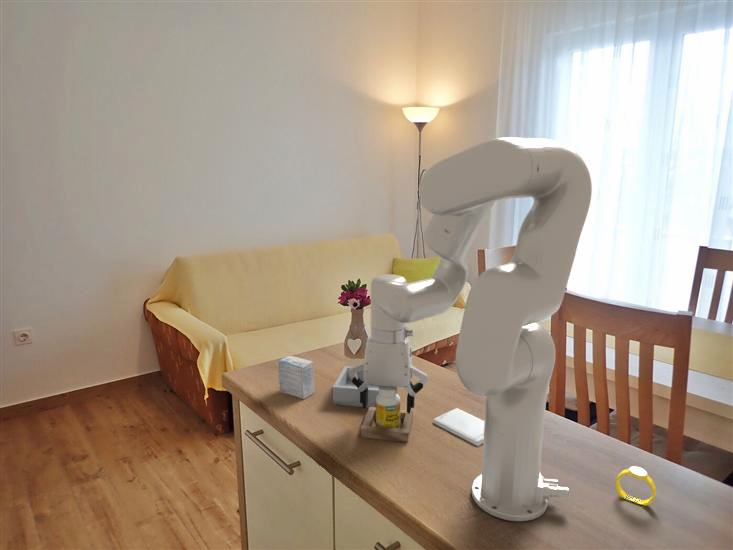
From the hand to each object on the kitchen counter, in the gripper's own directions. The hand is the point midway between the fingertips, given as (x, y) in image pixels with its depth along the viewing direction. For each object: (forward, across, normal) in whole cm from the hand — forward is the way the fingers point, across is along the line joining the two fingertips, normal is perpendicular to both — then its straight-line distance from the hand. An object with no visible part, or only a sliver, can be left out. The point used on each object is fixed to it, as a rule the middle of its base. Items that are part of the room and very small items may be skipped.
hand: (387, 408), depth 111 cm
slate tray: (+5, +8, -15) cm, 17 cm away
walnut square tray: (+4, 0, 0) cm, 5 cm away
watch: (+4, -45, +17) cm, 49 cm away
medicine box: (+5, +25, -13) cm, 28 cm away
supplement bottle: (+5, 0, 0) cm, 5 cm away
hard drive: (+5, -17, -3) cm, 18 cm away
